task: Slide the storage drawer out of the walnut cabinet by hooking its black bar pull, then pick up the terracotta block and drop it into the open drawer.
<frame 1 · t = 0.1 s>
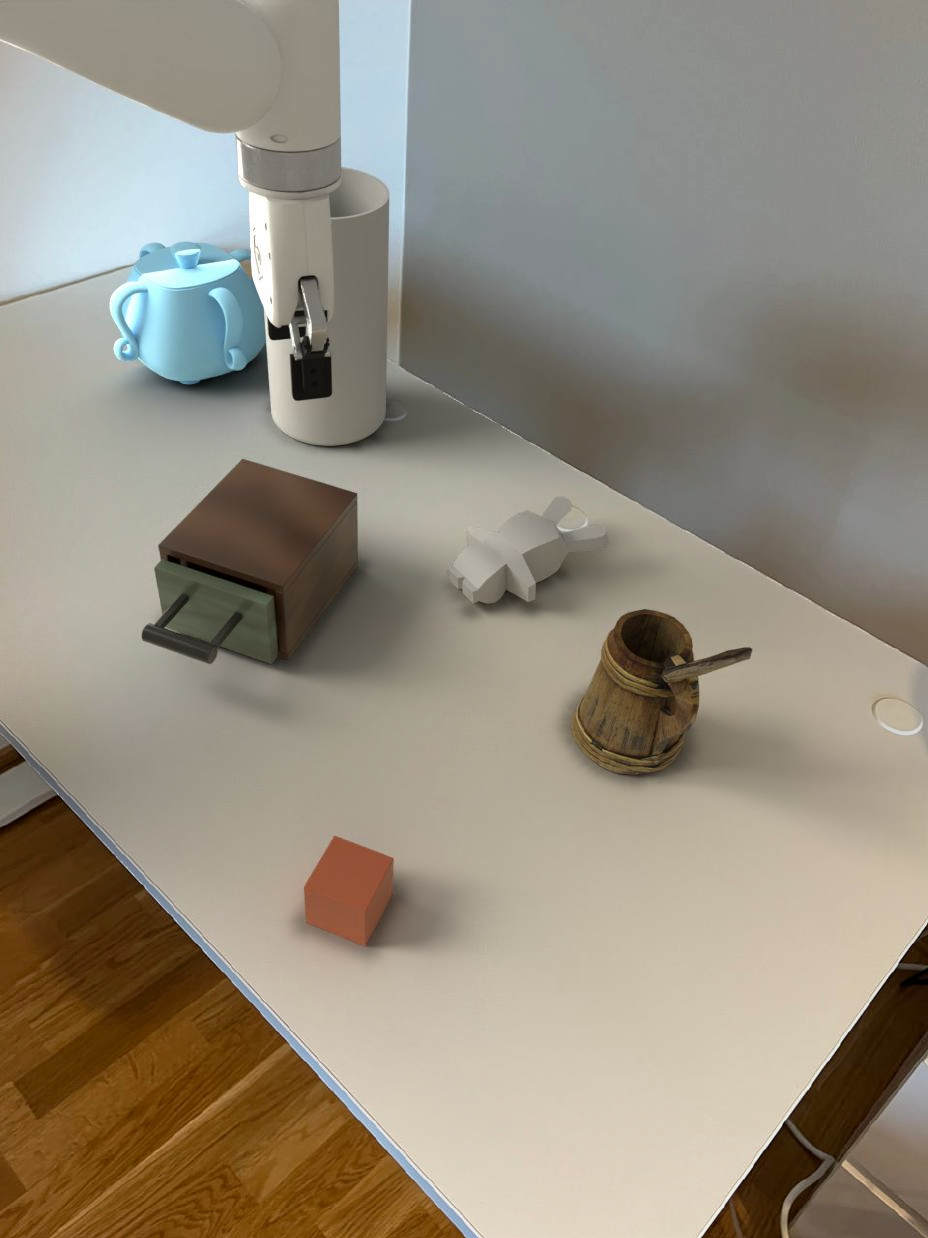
hand: (299, 366, 90), 19 cm above the table, tool pointing down, fingers open, 9 cm apart
cabinet: (267, 592, 97), on the table
cylinder vase: (328, 418, 118), on the table
decorative pot: (198, 359, 125), on the table
block: (349, 908, 74), on the table
wooden mug: (638, 755, 86), on the table
drawer: (235, 590, 91), point 4 cm above the table, slide at 0.5 cm
bunny figurine: (521, 572, 102), on the table
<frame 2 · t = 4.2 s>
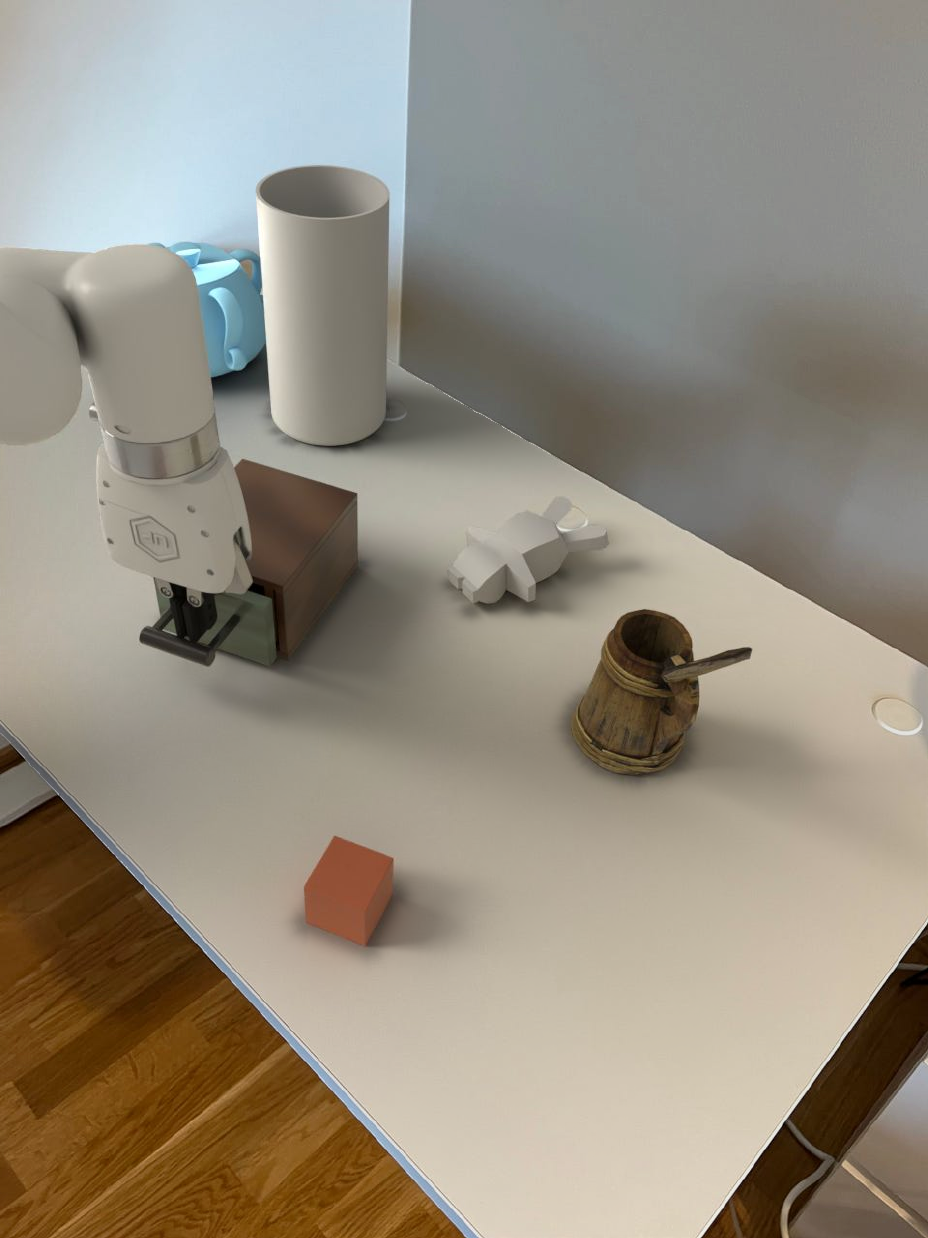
hand: (197, 627, 85), 6 cm above the table, tool pointing down, fingers closed
drawer: (233, 593, 90), point 4 cm above the table, slide at 0.8 cm, touching gripper
everything else where it was.
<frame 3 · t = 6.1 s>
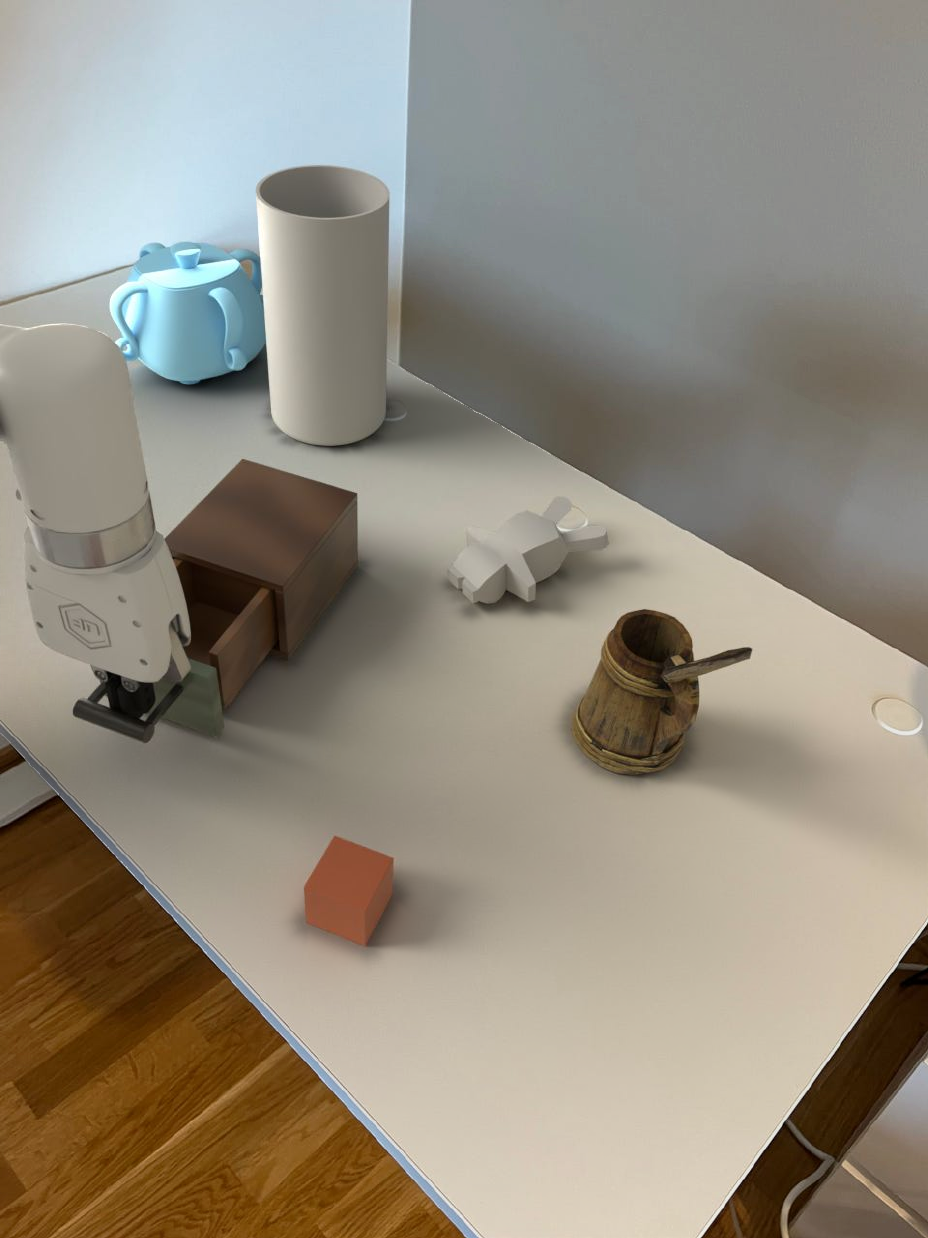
hand: (134, 710, 81), 4 cm above the table, tool pointing down, fingers closed
drawer: (178, 658, 85), point 4 cm above the table, slide at 9.2 cm, touching gripper
everything else where it was.
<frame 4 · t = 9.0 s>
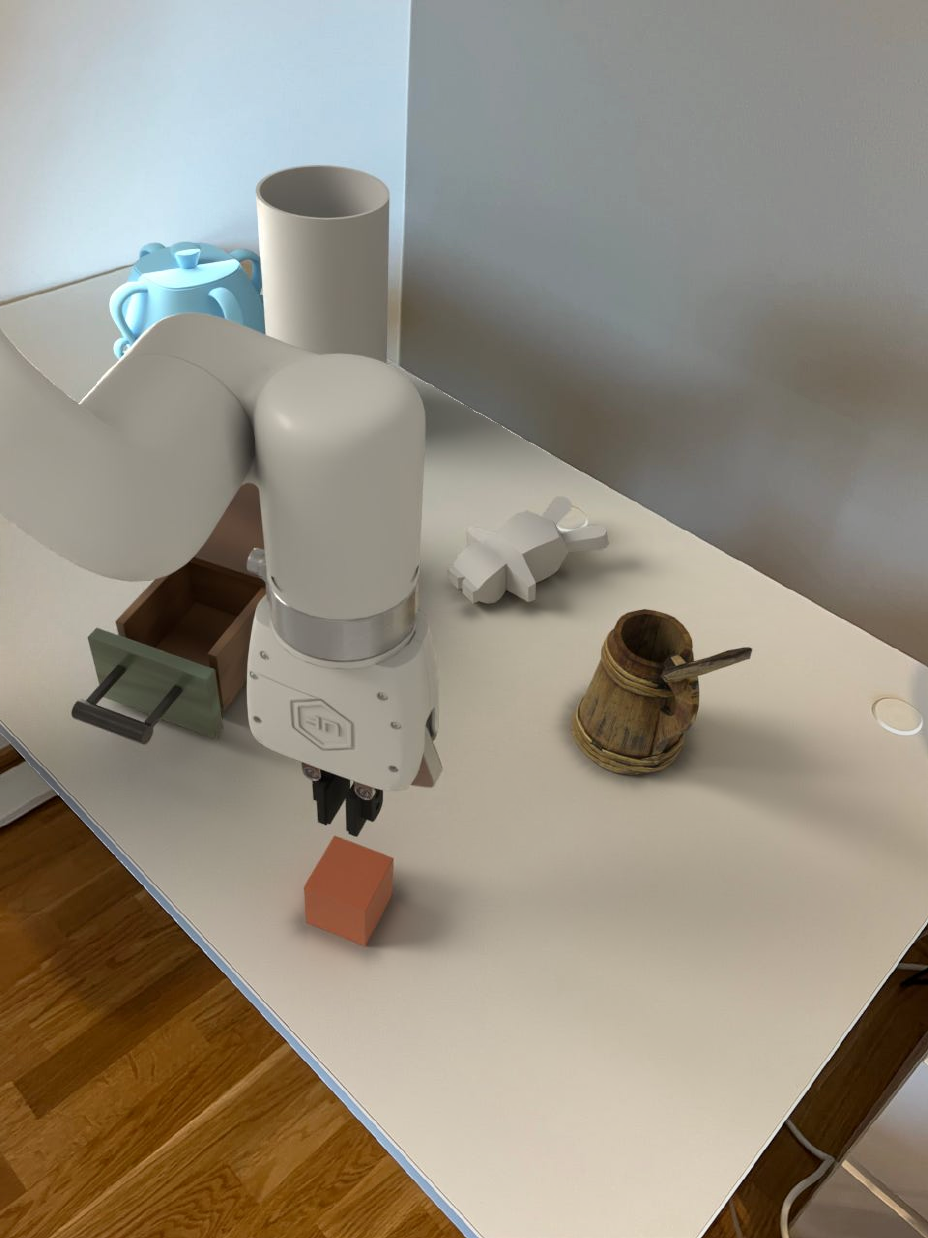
hand: (348, 811, 67), 11 cm above the table, tool pointing down, fingers closed
drawer: (177, 659, 84), point 4 cm above the table, slide at 9.4 cm
everything else where it was.
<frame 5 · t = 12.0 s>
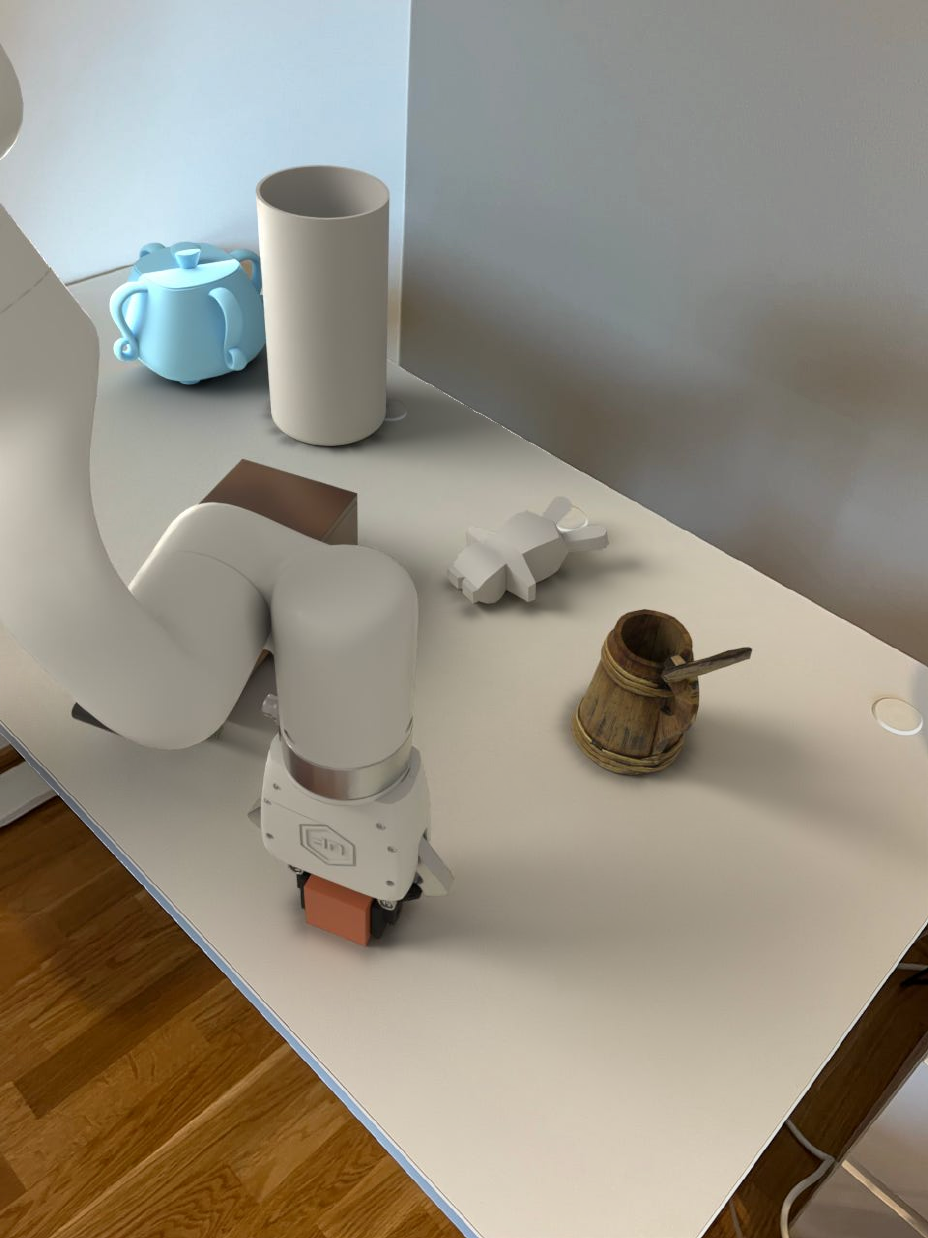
hand: (349, 905, 74), 0 cm above the table, tool pointing down, fingers closed on block, 4 cm apart
block: (349, 908, 74), on the table, touching gripper
everything else where it was.
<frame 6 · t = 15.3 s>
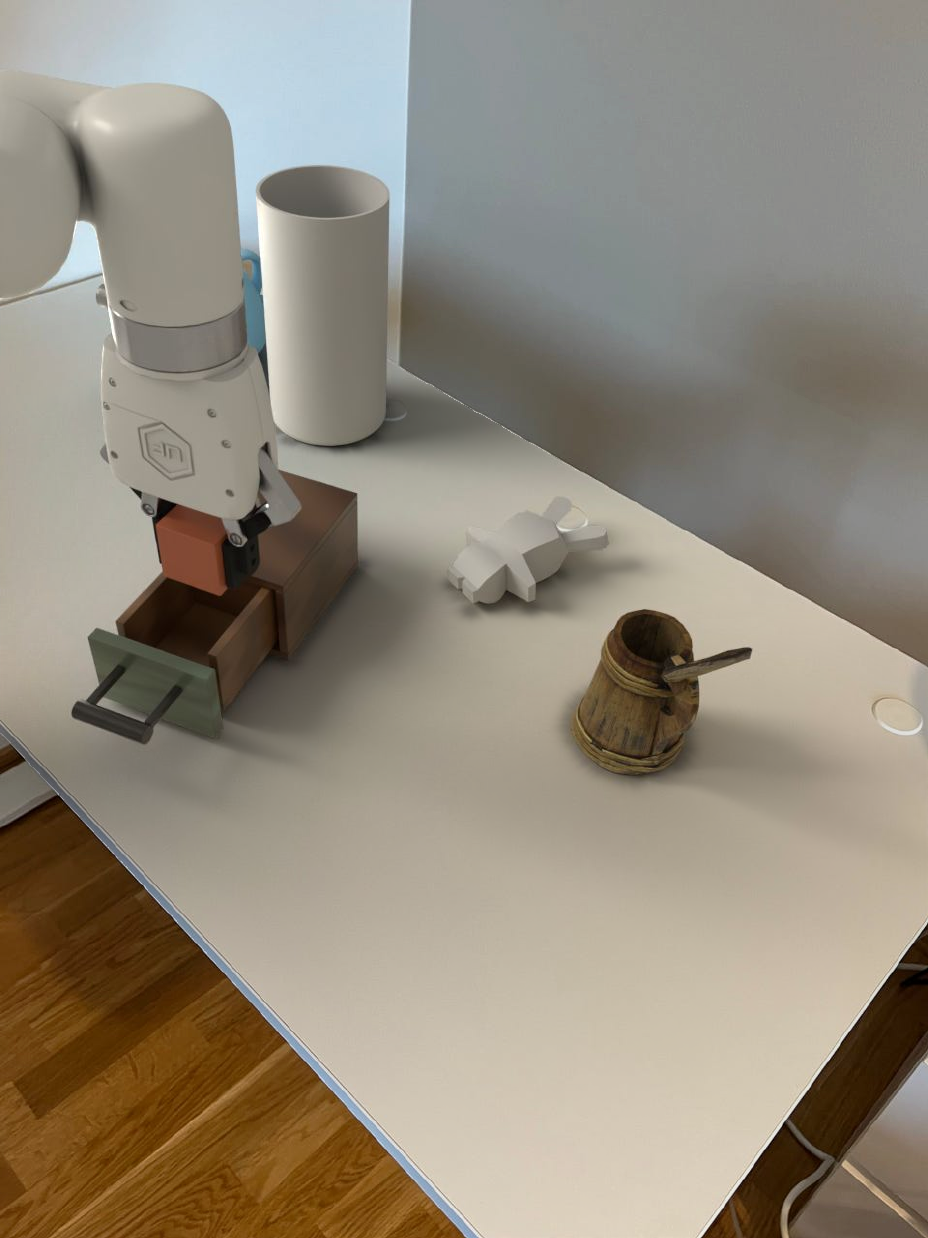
hand: (209, 563, 74), 17 cm above the table, tool pointing down, fingers closed on block, 4 cm apart
block: (210, 567, 74), point 17 cm above the table, touching gripper
everything else where it was.
when the fingers open (7 cm above the table, at t = 19.2 s): block stays where it is, resting on drawer.
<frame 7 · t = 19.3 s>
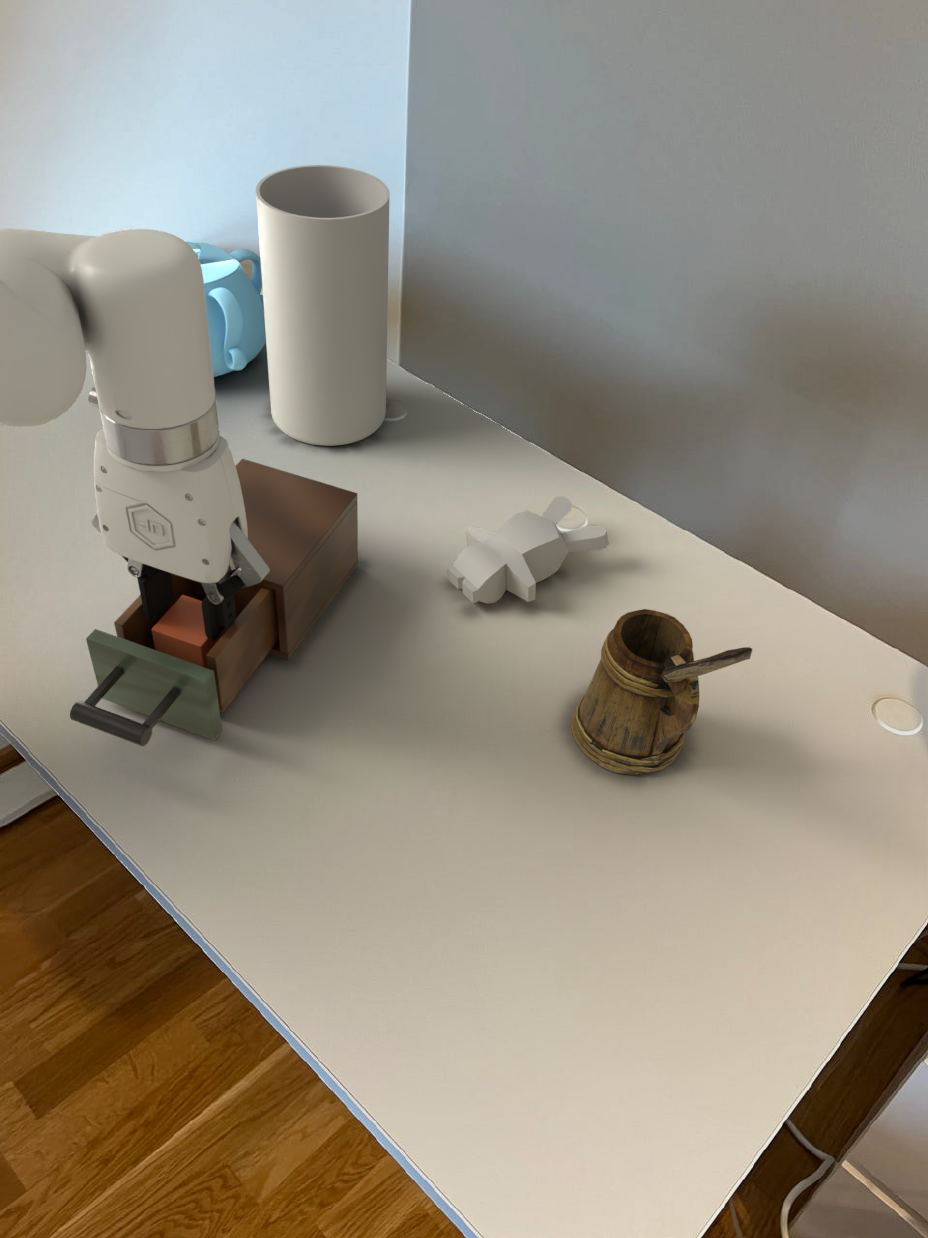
hand: (189, 615, 84), 7 cm above the table, tool pointing down, fingers open, 4 cm apart
block: (197, 659, 88), point 2 cm above the table, touching drawer
drawer: (175, 660, 84), point 4 cm above the table, slide at 9.6 cm, touching block
everything else where it was.
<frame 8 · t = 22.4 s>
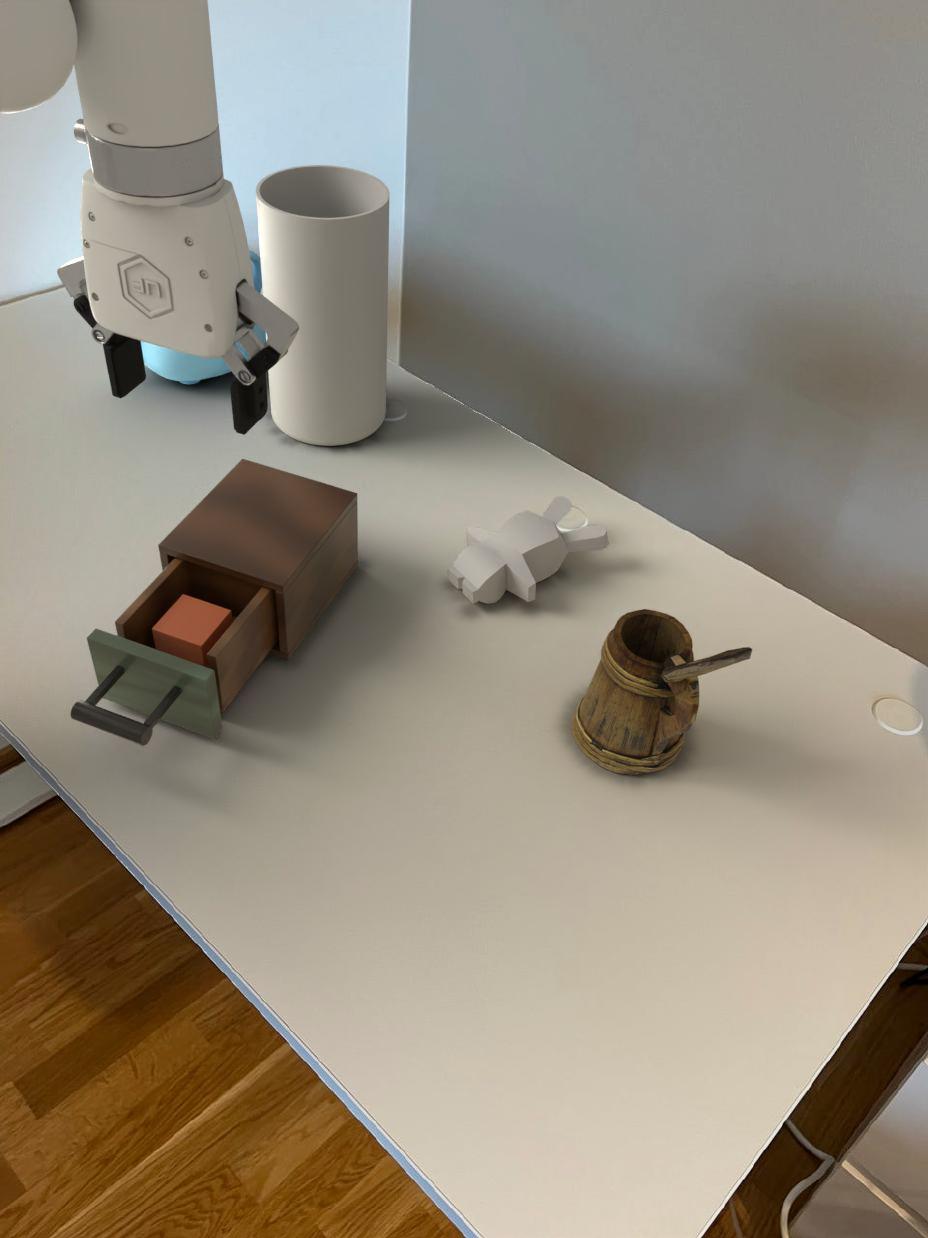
hand: (189, 405, 75), 24 cm above the table, tool pointing down, fingers open, 9 cm apart
nothing on the table moved.
at the end: drawer slide at 9.5 cm; block inside the target area in the drawer (1.4 cm from its centre), point 2.0 cm above the cabinet's base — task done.
